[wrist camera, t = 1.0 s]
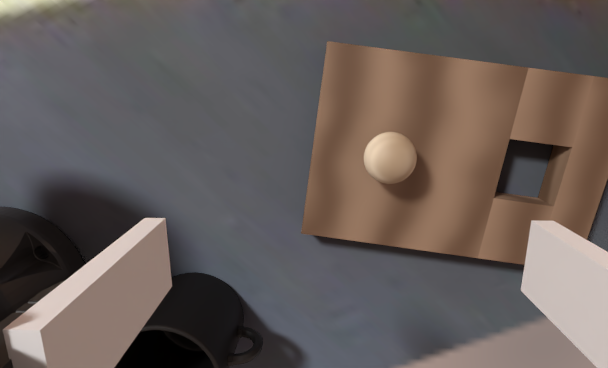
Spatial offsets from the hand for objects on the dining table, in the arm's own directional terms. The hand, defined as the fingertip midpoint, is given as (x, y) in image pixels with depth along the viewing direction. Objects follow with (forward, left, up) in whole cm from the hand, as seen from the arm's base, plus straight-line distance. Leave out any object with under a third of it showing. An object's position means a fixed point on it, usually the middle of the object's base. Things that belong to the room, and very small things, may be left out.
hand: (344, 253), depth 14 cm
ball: (+4, +1, -17) cm, 17 cm away
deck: (+10, +1, -21) cm, 24 cm away
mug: (-10, -18, -21) cm, 30 cm away
